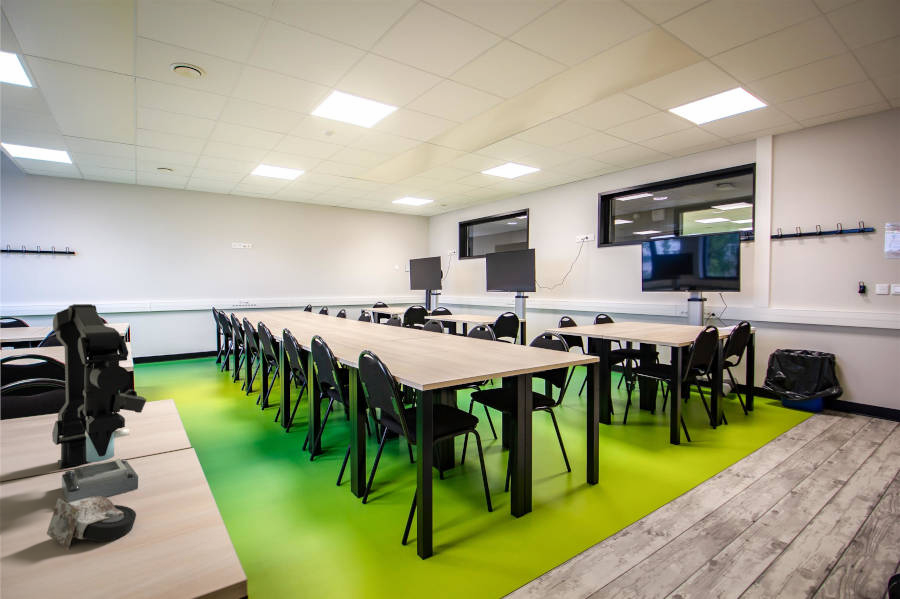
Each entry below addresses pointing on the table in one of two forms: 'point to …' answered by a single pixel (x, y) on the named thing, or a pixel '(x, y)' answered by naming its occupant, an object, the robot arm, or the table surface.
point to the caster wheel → (90, 520)
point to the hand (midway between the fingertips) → (100, 452)
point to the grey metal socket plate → (99, 480)
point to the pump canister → (93, 455)
